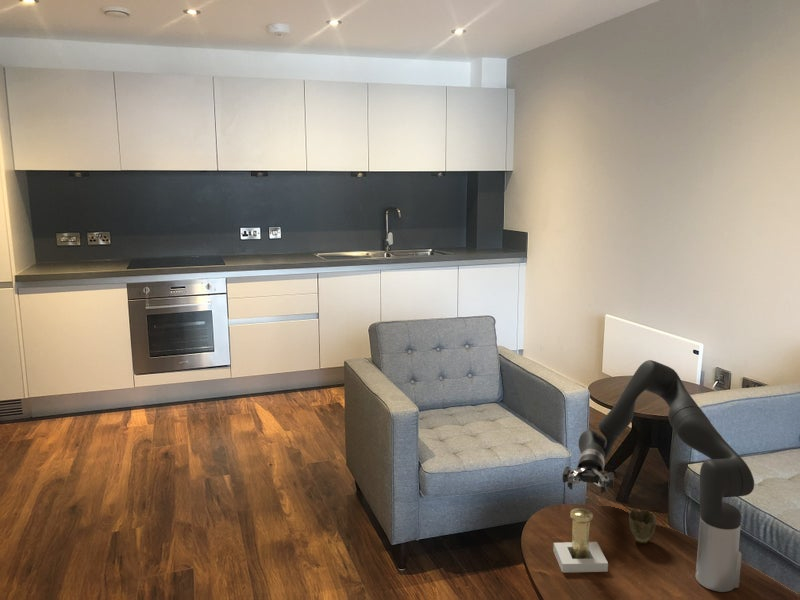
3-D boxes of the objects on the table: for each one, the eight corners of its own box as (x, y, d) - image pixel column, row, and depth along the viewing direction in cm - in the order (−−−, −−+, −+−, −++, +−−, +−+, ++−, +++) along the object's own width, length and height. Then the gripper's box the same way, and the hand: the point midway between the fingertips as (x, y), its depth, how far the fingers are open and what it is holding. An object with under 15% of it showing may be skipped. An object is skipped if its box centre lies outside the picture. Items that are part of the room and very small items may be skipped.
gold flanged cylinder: (587, 554, 182) (589, 507, 180) (593, 566, 177) (595, 519, 174) (566, 554, 182) (567, 508, 180) (571, 567, 177) (573, 519, 174)
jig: (596, 549, 184) (596, 541, 184) (607, 571, 175) (608, 563, 174) (553, 550, 184) (553, 542, 184) (562, 572, 175) (562, 564, 174)
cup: (651, 534, 192) (652, 508, 190) (658, 548, 184) (660, 522, 183) (624, 533, 192) (626, 508, 191) (631, 547, 185) (632, 521, 184)
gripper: (567, 450, 203) (560, 472, 188) (616, 456, 198) (613, 479, 183) (566, 473, 204) (560, 497, 189) (615, 479, 199) (612, 504, 184)
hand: (586, 488), depth 186 cm, fingers open, 8 cm apart
